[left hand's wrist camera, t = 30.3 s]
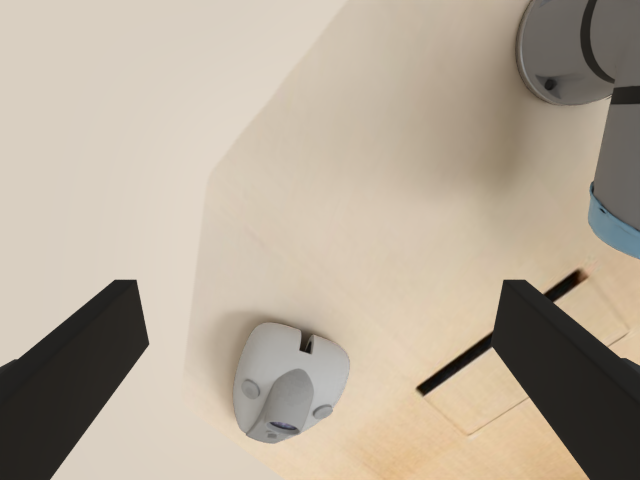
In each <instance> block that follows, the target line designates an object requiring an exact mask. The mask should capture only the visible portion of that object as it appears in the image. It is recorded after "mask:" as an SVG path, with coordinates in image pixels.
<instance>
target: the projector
mask: <svg viewBox="0 0 640 480" xmlns="http://www.w3.org/2000/svg"><path fill="white" fill-rule="evenodd" d="M300 343H301V330H299V329H296V328H293V327H289V326H286V325H283V324H278V323H270V322H269V323H262V324H260V325H258V326H257V327H256V328H255V329H254V330H253V331H252V333H251V334H250V336H249V338H248V340H247V342H246V344H245V346H244V349H243V351H242V354H241V357H240V360H239V363H238V367H237V370H236V375H235V380H234V387H233V404H234V411H235V416H236V420H237V423H238V425H239V428H240V429H241V430H242V431H243V432H244V433H246V436H248V437H250V438H252V439H255V440H257V441H261V442H265V443H272V444H274V443H278V442H280V441H283V440H286V439H289V438H291V437H293V436H296V435H299V434H300V433H302V432H304V431H305V430H307V429H309V428H311V427H312V426H314V425H315V424H317V423H318V422H319V421H321V420H322V419H323V418H326V417H327V416H329V415H330V414H331V413H332V411H333V408H334V406H335V405H336V403H337V402H338V400H339V398H340V397H341V395H342V393H343V391H344V388H345V385H346V383H347V379H348V375H349V369H350V361H349V357H348V355H347V353H346V351H345V350H344V349H343V348H342V347H341V346H339V345H338V344H336V343H334V342H332V341H330V340H327V339H325V338H322V337H319V336H316V335H314V334H313V335H311V337H310V338H309V340H308V343H307V345H306V348H305V350H304V352H302V351H299V348H300Z"/></svg>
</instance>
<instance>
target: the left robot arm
mask: <svg viewBox="0 0 640 480" xmlns="http://www.w3.org/2000/svg"><path fill="white" fill-rule="evenodd" d="M516 61H517V66H518V70H519V73H520V75H521V78H522V80H523V81H524V83H525V85H526V86H527V87H528V89H529V90H530V91H531V92H532V93H533V94H534V95H536V96H537V97H538V98H540V99H542V100H544V101H546V102H548V103H551V104H556V105H582V104H587V103H591V102H594V101H598V100H601V99H603V98H606V97H608V96H610V95H612V96H611V97H612V98H611V103H610V105H609V110H608V115H607V120H606V125H605V129H604V134H603V139H602V144H601V149H600V153H599V158H598V163H597V168H596V173H595V177H594V181H593V182H592V183H591V185H590V196H591V199H590V206H589V212H588V222H589V225H590V226H591V228H592V230H593V232H594V233H595V235H596V236H597V237H599V238H600V239H601V240H602V241H603V242H605V243H606V244H608V245H610V246H611V247H613V248H615V249H617V250H619V251H621V252H623V253H625V254H627V255H630V256H632V257H635V258H637V259H640V0H531V2H530V4H529V5H528V7H527V9H526V11H525V13H524V15H523V18H522V20H521V23H520V26H519V30H518V34H517V40H516ZM609 98H610V97H609ZM607 99H608V98H607ZM148 345H149V340H148V335H147V330H146V326H145V321H144V315H143V310H142V305H141V300H140V295H139V290H138V285H137V280H114V281H113V282H112V283H110V284H109V285H108V286H107V287H106V288H104V289H103V290H102V291H101V292H99V293H98V294H97V295H96V296H95V297H93V298H92V299H91V300H90V301H88V302H87V303H86V304H85V305H84V306H82V307H81V308H80V309H79V310H77V311H76V312H75V313H74V314H73V315H71V316H70V317H69V318H68V319H67V320H65V321H64V322H63V323H62V324H60V325H59V326H58V327H57V328H56V329H54V330H53V331H52V332H51V333H50V334H48V335H47V336H46V337H45V338H43V339H42V340H41V341H40V342H38V343H37V344H36V345H35V346H34V347H32V348H31V349H30V350H29V351H28V352H26V353H25V354H24V355H23V356H21V357H20V358H19V359H15V360H13V361H11V362H9V363H7V364H5V365H3V366H2V367H0V480H50V479H51V478H52V476H53V475H54V474H55V472H56V471H57V469H58V468H59V467H60V465H61V464H62V463H63V461H64V460H65V459H66V457H67V456H68V454H69V453H70V452H71V450H72V449H73V448H74V446H75V445H76V444H77V442H78V441H79V439H80V438H81V437H82V435H83V434H84V433H85V431H86V430H87V429H88V427H89V426H90V424H91V423H92V422H93V420H94V419H95V418H96V416H97V415H98V414H99V412H100V411H101V409H102V408H103V407H104V405H105V404H106V403H107V401H108V400H109V399H110V397H111V396H112V394H113V393H114V392H115V390H116V389H117V388H118V386H119V385H120V383H121V382H122V381H123V379H124V378H125V377H126V375H127V374H128V373H129V371H130V370H131V369H132V367H133V366H134V364H135V363H136V362H137V360H138V359H139V358H140V356H141V355H142V354H143V352H144V351H145V349H146V348H147V347H148ZM491 345H492V347H493V348H494V349H495V351H496V352H497V354H498V355H499V356H500V358H501V359H502V360H503V362H504V363H505V364H506V366H507V367H508V369H509V370H510V371H511V373H512V374H513V375H514V377H515V378H516V379H517V381H518V382H519V384H520V385H521V386H522V388H523V389H524V390H525V392H526V393H527V394H528V396H529V397H530V399H531V400H532V401H533V403H534V404H535V405H536V407H537V408H538V409H539V411H540V412H541V414H542V415H543V416H544V418H545V419H546V420H547V422H548V423H549V424H550V426H551V427H552V429H553V430H554V431H555V433H556V434H557V435H558V437H559V438H560V439H561V441H562V442H563V444H564V445H565V446H566V448H567V449H568V450H569V452H570V453H571V454H572V456H573V457H574V459H575V460H576V461H577V463H578V464H579V465H580V467H581V468H582V469H583V471H584V472H585V474H586V475H587V476H588V478H589V479H590V480H640V366H639V365H638V364H636V363H634V362H632V361H630V360H628V359H626V358H620V357H619V356H617V355H616V354H615V353H614V352H612V351H611V350H610V349H609V348H608V347H606V346H605V345H604V344H603V343H602V342H600V341H599V340H598V339H597V338H595V337H594V336H593V335H592V334H591V333H589V332H588V331H587V330H586V329H584V328H583V327H582V326H581V325H580V324H578V323H577V322H576V321H575V320H573V319H572V318H571V317H570V316H569V315H567V314H566V313H565V312H564V311H563V310H561V309H560V308H559V307H558V306H556V305H555V304H554V303H553V302H552V301H550V300H549V299H548V298H547V297H545V296H544V295H543V294H542V293H541V292H539V291H538V290H537V289H536V288H534V287H533V286H532V285H531V284H530V283H528V282H527V281H526V280H503V285H502V290H501V295H500V300H499V305H498V310H497V315H496V320H495V325H494V330H493V335H492V340H491Z"/></svg>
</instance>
